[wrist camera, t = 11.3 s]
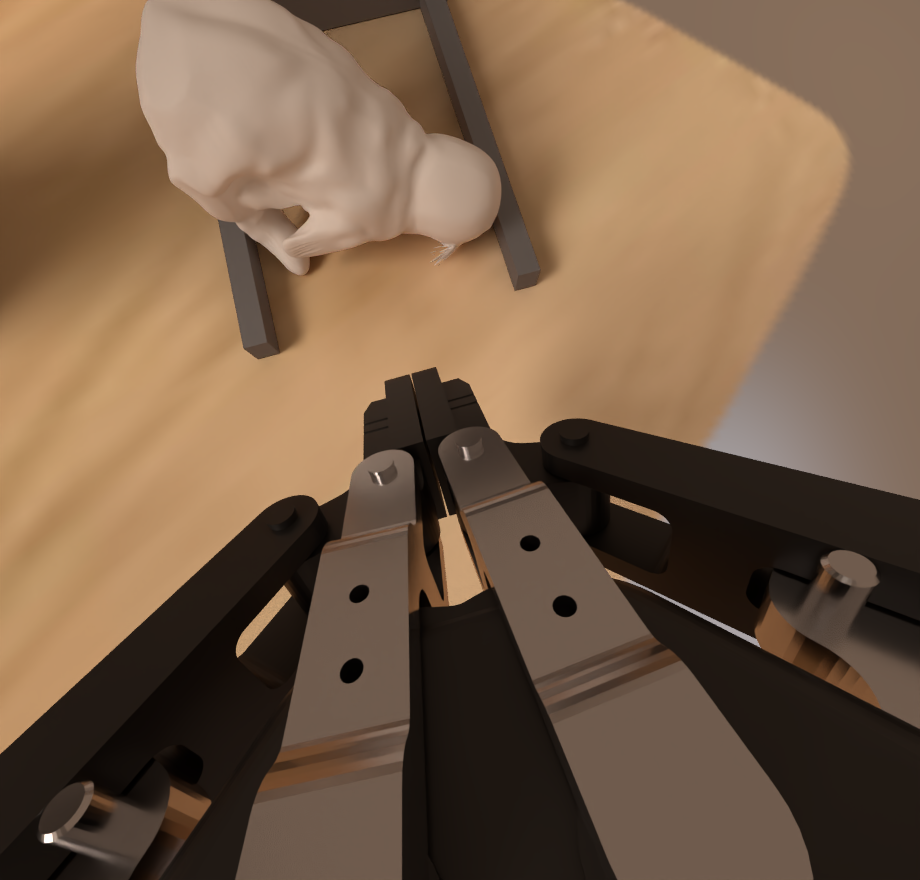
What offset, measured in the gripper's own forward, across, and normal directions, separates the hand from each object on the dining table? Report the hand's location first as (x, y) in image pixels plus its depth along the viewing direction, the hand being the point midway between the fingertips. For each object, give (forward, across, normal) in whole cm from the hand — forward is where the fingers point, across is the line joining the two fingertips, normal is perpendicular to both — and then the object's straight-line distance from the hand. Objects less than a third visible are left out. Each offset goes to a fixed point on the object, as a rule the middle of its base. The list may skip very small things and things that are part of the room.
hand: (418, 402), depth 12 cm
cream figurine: (+12, 0, -3) cm, 12 cm away
